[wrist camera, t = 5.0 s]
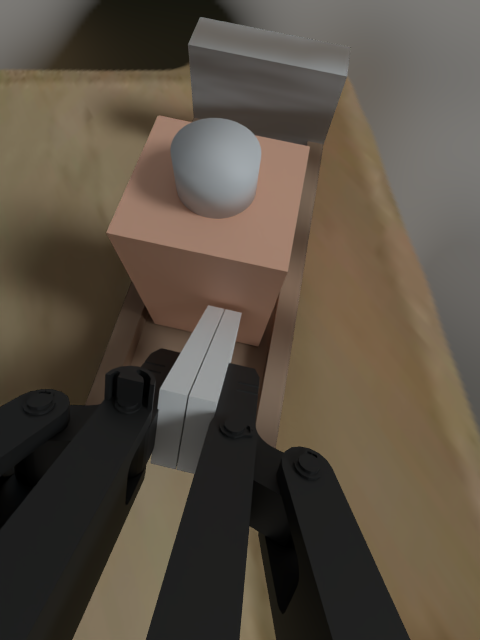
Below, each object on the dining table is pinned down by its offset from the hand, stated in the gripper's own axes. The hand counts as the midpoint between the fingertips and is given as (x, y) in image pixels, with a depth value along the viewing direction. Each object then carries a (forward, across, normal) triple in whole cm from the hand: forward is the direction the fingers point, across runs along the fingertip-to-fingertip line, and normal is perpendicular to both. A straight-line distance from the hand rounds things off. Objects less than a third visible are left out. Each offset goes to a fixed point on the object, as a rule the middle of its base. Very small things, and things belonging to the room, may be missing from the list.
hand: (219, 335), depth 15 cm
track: (+10, -1, +1) cm, 10 cm away
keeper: (+6, -1, 0) cm, 6 cm away
